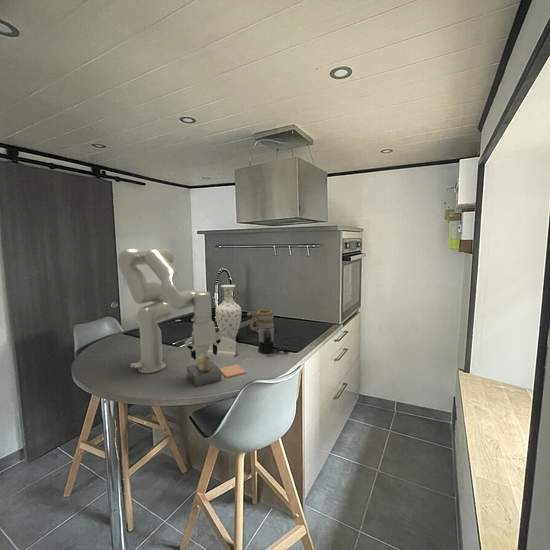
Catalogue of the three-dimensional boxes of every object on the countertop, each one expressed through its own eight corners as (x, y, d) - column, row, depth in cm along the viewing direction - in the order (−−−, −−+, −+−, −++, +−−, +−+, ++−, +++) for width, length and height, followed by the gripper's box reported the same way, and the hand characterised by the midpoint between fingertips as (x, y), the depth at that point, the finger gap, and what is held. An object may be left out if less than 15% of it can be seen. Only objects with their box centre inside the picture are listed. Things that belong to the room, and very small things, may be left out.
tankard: (268, 327, 219) (268, 307, 218) (277, 332, 208) (277, 310, 207) (243, 331, 210) (243, 310, 208) (250, 336, 199) (250, 314, 197)
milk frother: (255, 349, 175) (255, 324, 174) (279, 345, 183) (279, 321, 181) (265, 358, 163) (266, 331, 161) (291, 353, 170) (291, 327, 168)
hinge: (206, 354, 167) (208, 336, 169) (209, 354, 171) (212, 336, 173) (234, 357, 163) (236, 338, 165) (237, 357, 167) (239, 339, 169)
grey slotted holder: (194, 387, 130) (194, 376, 129) (187, 376, 140) (186, 366, 139) (221, 380, 136) (221, 370, 135) (211, 370, 146) (211, 361, 146)
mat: (226, 378, 138) (226, 376, 138) (218, 370, 147) (218, 368, 147) (246, 373, 144) (246, 371, 144) (237, 365, 152) (237, 364, 152)
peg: (200, 381, 135) (200, 360, 134) (197, 378, 139) (197, 357, 137) (210, 379, 137) (209, 358, 136) (206, 375, 141) (206, 355, 140)
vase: (211, 343, 185) (210, 286, 181) (223, 335, 201) (222, 283, 196) (234, 346, 180) (234, 288, 176) (245, 337, 196) (245, 284, 191)
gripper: (186, 324, 127) (188, 363, 129) (224, 318, 136) (225, 354, 138) (181, 320, 133) (183, 357, 135) (218, 315, 142) (219, 350, 144)
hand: (204, 356), depth 136 cm, fingers open, 9 cm apart
